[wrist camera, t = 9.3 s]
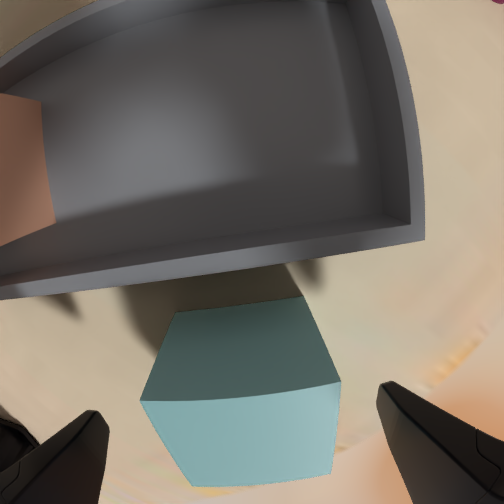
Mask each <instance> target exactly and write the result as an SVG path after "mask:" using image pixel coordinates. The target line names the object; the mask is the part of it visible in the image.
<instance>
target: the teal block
mask: <svg viewBox="0 0 504 504" xmlns="http://www.w3.org/2000/svg"><path fill="white" fill-rule="evenodd" d="M340 391H341V380H340V378H339V375H338V373H337V371H336V368H335V366H334V364H333V361H332V359H331V357H330V354H329V352H328V350H327V347H326V345H325V343H324V341H323V338H322V336H321V334H320V331H319V329H318V327H317V325H316V322H315V320H314V318H313V316H312V313H311V311H310V309H309V307H308V305H307V302H306V300H305V298H304V296H300V297H294V298H287V299H280V300H274V301H267V302H259V303H252V304H244V305H237V306H229V307H220V308H212V309H203V310H194V311H184V312H175V314H174V317H173V319H172V321H171V324H170V326H169V328H168V331H167V333H166V336H165V338H164V340H163V343H162V345H161V348H160V350H159V353H158V355H157V358H156V360H155V363H154V365H153V368H152V370H151V373H150V375H149V378H148V380H147V383H146V385H145V388H144V391H143V393H142V396H141V398H140V403H141V404H142V406H143V408H144V410H145V412H146V414H147V416H148V417H149V419H150V421H151V423H152V425H153V426H154V428H155V430H156V432H157V433H158V435H159V437H160V438H161V440H162V442H163V443H164V445H165V447H166V448H167V450H168V451H169V453H170V455H171V456H172V458H173V459H174V461H175V462H176V464H177V465H178V467H179V468H180V470H181V471H182V473H183V474H184V476H185V477H186V478H187V480H188V481H189V483H190V484H191V485H192V486H197V487H228V486H249V485H261V484H271V483H280V482H287V481H294V480H300V479H306V478H312V477H317V476H322V475H327V474H331V470H332V463H333V456H334V449H335V441H336V433H337V424H338V414H339V403H340Z"/></svg>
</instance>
